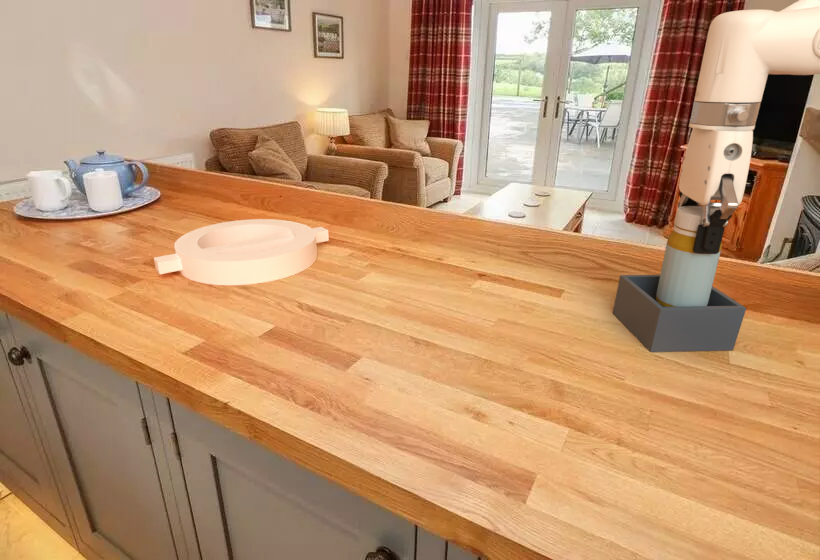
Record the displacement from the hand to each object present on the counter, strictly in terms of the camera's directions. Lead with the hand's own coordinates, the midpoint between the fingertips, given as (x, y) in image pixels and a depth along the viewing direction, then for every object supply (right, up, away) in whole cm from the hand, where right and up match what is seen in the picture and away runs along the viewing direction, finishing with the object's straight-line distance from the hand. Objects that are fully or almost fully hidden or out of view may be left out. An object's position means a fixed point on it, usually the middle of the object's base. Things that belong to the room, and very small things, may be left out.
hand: (694, 243), depth 72 cm
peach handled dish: (-76, -1, +33) cm, 82 cm away
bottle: (0, -10, +4) cm, 10 cm away
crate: (-1, -13, +6) cm, 15 cm away
